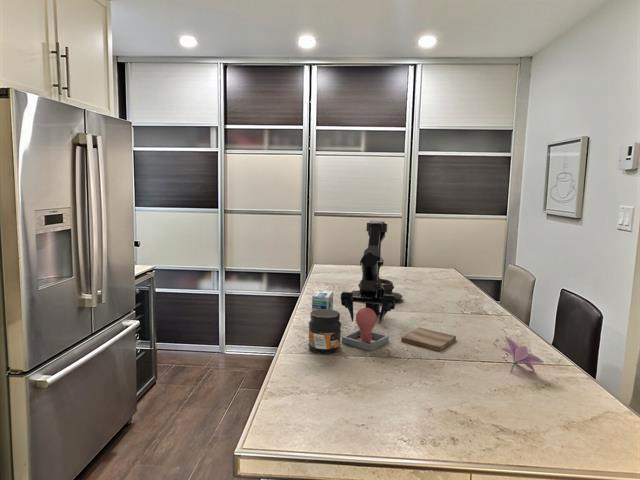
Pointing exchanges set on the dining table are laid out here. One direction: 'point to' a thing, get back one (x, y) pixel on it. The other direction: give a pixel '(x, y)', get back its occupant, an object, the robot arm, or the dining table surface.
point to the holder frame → (350, 341)
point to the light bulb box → (322, 300)
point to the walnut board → (428, 339)
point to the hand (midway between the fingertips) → (365, 322)
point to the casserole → (387, 287)
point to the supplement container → (324, 331)
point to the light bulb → (366, 323)
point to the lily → (520, 354)
